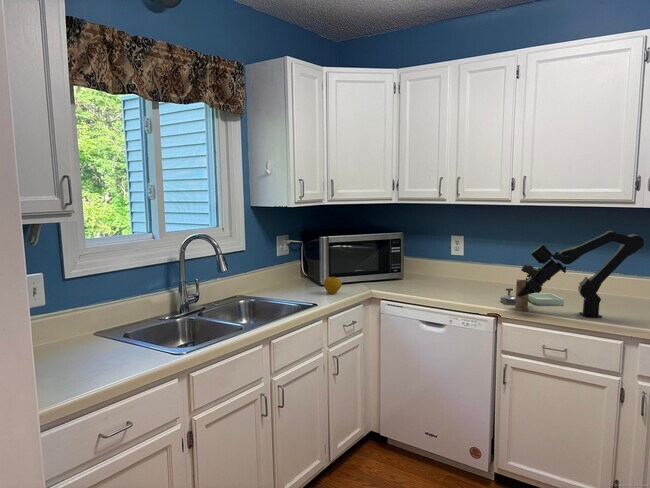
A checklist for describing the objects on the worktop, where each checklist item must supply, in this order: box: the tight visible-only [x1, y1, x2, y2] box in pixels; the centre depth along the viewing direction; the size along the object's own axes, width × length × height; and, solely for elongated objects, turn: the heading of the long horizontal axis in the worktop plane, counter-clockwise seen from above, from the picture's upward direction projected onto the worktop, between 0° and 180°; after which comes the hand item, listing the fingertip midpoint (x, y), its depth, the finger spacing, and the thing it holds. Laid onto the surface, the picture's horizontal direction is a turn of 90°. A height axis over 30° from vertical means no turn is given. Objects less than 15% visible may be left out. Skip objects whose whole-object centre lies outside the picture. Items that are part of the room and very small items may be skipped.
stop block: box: [514, 278, 529, 313], centre depth 209 cm, size 5×5×13 cm
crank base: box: [500, 296, 516, 306], centre depth 222 cm, size 7×7×2 cm
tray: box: [528, 292, 565, 307], centre depth 223 cm, size 12×12×3 cm
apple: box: [323, 276, 342, 295], centre depth 242 cm, size 9×9×9 cm
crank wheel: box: [503, 288, 516, 300], centre depth 221 cm, size 6×6×4 cm
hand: (518, 294), depth 210 cm, fingers closed on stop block, 5 cm apart
